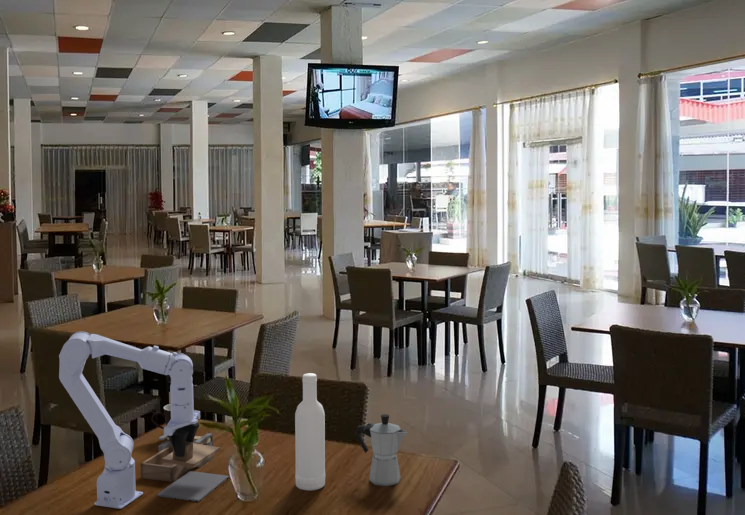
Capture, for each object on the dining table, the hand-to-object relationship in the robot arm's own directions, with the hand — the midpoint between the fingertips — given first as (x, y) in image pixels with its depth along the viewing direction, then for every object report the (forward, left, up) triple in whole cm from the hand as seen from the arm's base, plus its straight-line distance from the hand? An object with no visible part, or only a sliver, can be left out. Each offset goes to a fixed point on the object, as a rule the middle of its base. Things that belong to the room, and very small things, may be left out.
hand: (183, 453), depth 188 cm
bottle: (+14, -29, -11) cm, 34 cm away
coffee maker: (+23, -46, -11) cm, 53 cm away
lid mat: (+4, 0, -10) cm, 11 cm away
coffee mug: (+36, +26, -11) cm, 45 cm away
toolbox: (+15, +12, -10) cm, 21 cm away
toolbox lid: (+4, 0, -2) cm, 5 cm away
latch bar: (+22, +12, -5) cm, 25 cm away
